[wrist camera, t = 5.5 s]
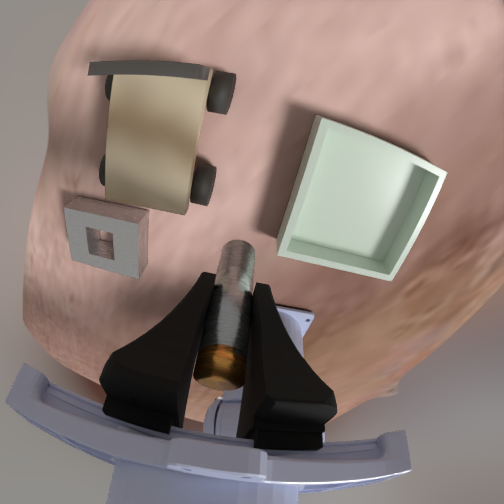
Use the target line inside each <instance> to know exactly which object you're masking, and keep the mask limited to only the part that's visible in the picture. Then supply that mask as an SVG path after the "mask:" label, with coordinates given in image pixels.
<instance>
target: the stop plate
mask: <svg viewBox="0 0 504 504" xmlns="http://www.w3.org/2000/svg"><path fill="white" fill-rule="evenodd" d="M64 213H65V221H66V229H67V235H68V241H69V247H70V253H71V258H72V260H74V261H77V262H81V263H84V264H87V265H90V266H94V267H97V268H101V269H104V270H107V271H111V272H114V273H118V274H122V275H125V276H129V277H132V278H136V279H139V278H140V276H141V275H142V273H143V271H144V269H145V268H146V266H147V264H148V223H149V210H144V209H140V208H135V207H130V206H125V205H120V204H115V203H110V202H105V201H100V200H95V199H90V198H85V197H80V196H78V197H77V198H75V199H74V200H73V201H71V202H70V203H69V204H68V205H66V206H65V207H64ZM100 230H101V231H105V232H110V233H113V243H112V242H108V241H104V240H101V238H100Z"/></svg>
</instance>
